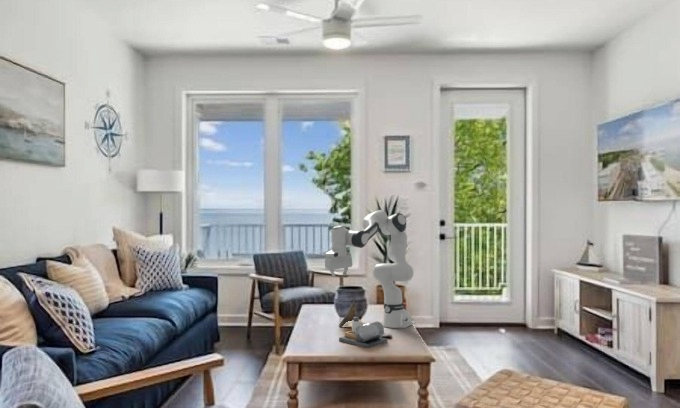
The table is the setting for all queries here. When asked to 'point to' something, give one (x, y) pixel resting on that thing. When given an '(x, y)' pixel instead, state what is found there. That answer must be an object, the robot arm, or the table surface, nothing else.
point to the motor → (366, 335)
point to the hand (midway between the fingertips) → (339, 276)
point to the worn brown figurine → (349, 314)
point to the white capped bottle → (355, 324)
